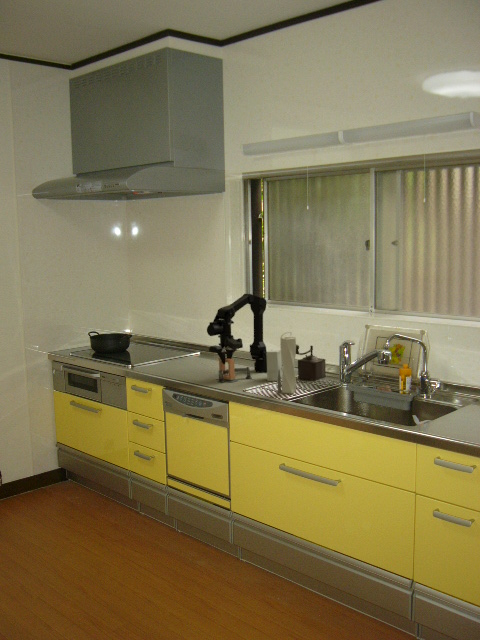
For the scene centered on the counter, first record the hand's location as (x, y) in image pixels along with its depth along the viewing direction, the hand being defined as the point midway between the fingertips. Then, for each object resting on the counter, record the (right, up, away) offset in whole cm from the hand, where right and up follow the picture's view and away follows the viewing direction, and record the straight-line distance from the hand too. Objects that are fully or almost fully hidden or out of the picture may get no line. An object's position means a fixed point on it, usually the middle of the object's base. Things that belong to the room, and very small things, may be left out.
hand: (226, 363), depth 335 cm
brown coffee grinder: (+41, -8, 0) cm, 42 cm away
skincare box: (+24, -8, 0) cm, 26 cm away
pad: (0, -8, +1) cm, 8 cm away
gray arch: (+4, -8, +1) cm, 9 cm away
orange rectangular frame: (0, -7, +1) cm, 7 cm away
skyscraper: (+29, -12, -26) cm, 41 cm away
